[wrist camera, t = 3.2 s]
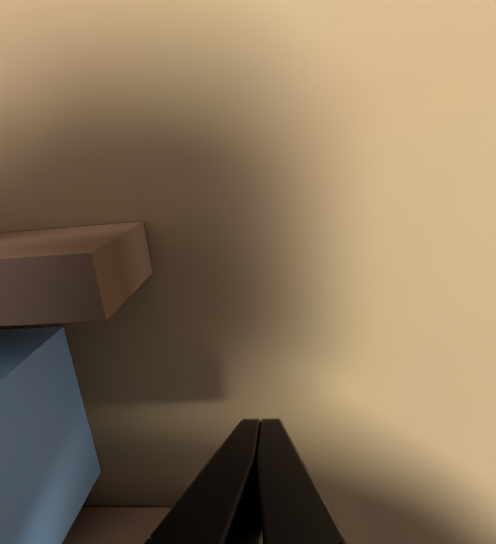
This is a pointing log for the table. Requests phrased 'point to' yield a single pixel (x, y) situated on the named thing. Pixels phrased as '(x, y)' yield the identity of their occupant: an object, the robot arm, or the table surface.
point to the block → (41, 438)
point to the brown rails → (79, 308)
